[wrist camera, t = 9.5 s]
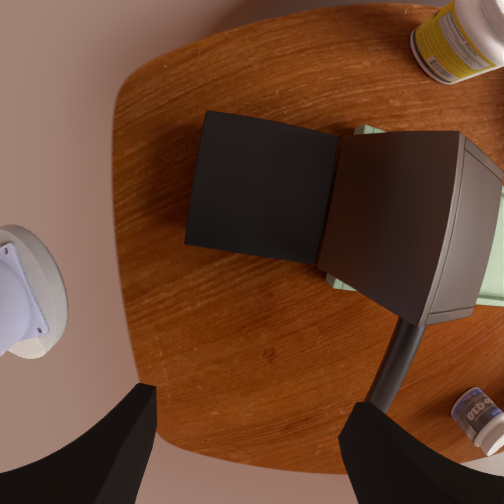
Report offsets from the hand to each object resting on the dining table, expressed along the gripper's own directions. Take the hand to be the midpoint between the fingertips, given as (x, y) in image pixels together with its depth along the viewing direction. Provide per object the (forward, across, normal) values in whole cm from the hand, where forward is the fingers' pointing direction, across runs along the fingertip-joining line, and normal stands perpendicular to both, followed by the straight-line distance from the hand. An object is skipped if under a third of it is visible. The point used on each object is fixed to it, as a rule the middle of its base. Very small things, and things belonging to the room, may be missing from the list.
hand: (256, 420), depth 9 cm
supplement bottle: (+11, -11, -22) cm, 27 cm away
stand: (+10, +1, -8) cm, 13 cm away
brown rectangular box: (+4, -4, -4) cm, 7 cm away
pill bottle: (+11, -28, +10) cm, 32 cm away
